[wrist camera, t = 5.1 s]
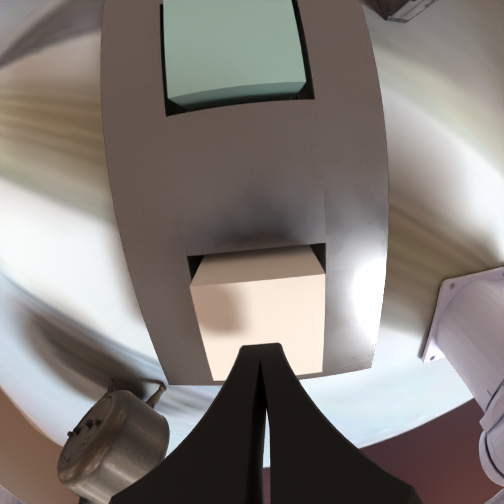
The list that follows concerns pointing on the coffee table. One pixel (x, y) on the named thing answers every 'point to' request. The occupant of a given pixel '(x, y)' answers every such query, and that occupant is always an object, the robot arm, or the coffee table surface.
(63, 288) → the coffee table surface
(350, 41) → the key housing
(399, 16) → the mini dv tape
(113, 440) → the alarm clock
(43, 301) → the coffee table surface
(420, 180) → the coffee table surface
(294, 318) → the white key
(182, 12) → the teal key
